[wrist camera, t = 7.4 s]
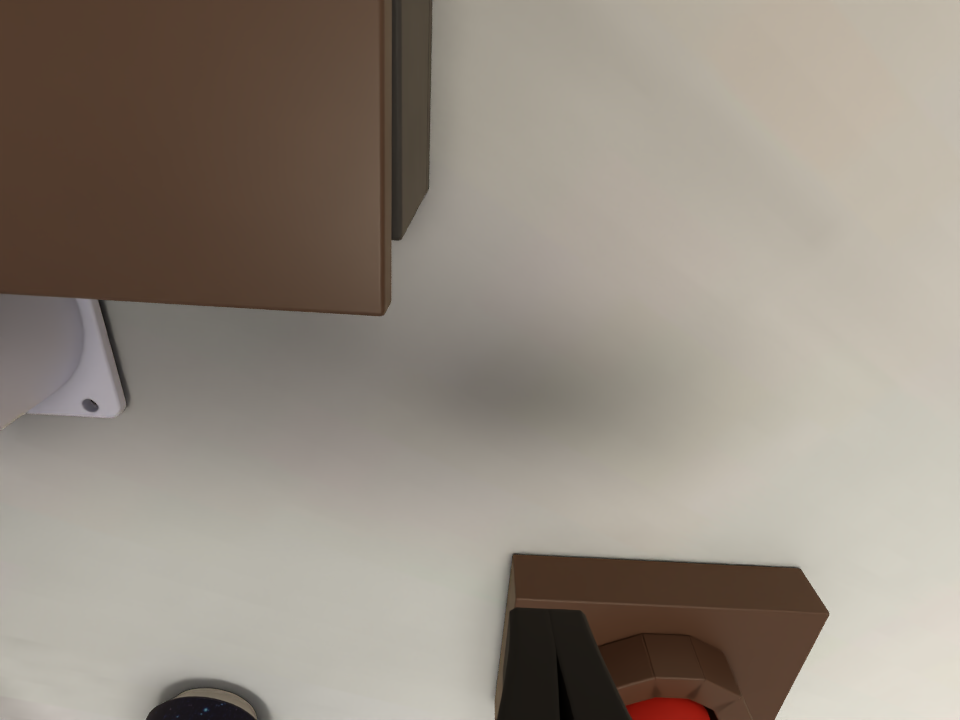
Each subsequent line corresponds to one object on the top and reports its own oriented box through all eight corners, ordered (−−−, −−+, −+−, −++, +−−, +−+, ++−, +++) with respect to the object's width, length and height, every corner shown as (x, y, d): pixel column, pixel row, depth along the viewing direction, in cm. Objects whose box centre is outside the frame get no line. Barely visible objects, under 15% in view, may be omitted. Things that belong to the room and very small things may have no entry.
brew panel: (494, 700, 27) (496, 795, 23) (512, 553, 22) (518, 642, 19) (734, 711, 27) (772, 806, 23) (800, 567, 22) (860, 658, 19)
